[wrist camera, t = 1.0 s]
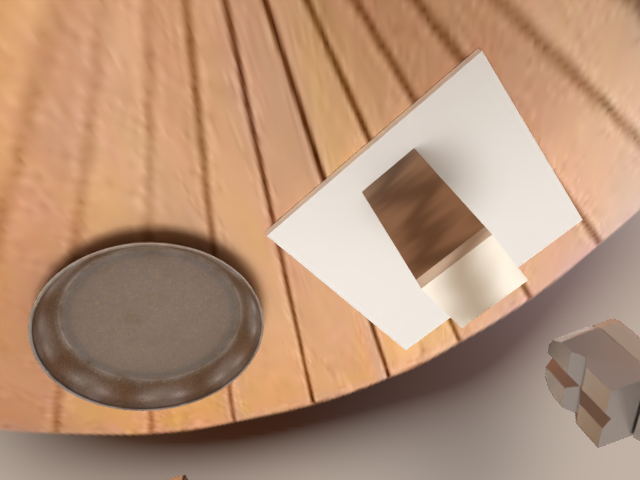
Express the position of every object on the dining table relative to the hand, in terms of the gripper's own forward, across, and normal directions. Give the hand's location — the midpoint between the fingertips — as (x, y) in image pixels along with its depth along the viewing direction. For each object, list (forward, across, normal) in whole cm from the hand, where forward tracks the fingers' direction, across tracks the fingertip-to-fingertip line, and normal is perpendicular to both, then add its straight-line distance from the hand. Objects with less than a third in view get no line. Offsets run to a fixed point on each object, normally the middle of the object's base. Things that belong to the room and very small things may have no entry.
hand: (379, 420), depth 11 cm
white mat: (+34, -18, +20) cm, 43 cm away
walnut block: (+33, -15, +15) cm, 39 cm away
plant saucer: (+36, +11, +22) cm, 44 cm away
